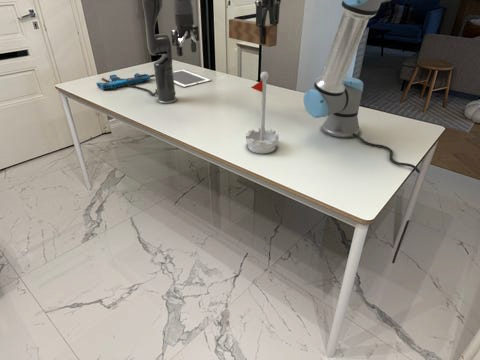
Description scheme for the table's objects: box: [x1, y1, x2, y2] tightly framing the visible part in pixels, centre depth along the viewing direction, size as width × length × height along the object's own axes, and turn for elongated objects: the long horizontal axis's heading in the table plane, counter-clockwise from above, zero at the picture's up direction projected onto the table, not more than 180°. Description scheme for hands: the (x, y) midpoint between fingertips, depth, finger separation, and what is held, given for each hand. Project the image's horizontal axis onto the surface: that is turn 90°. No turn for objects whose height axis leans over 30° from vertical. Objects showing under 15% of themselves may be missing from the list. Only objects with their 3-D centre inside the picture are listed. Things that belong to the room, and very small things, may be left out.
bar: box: [228, 18, 278, 48], centre depth 155 cm, size 27×4×8 cm, turn 42°
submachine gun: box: [95, 72, 155, 91], centre depth 209 cm, size 34×4×25 cm
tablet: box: [173, 69, 212, 88], centre depth 216 cm, size 32×20×1 cm, turn 41°
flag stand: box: [245, 71, 280, 154], centre depth 128 cm, size 13×13×30 cm
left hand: (187, 53), depth 145 cm, fingers open, 8 cm apart
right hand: (266, 42), depth 151 cm, fingers closed on bar, 4 cm apart
